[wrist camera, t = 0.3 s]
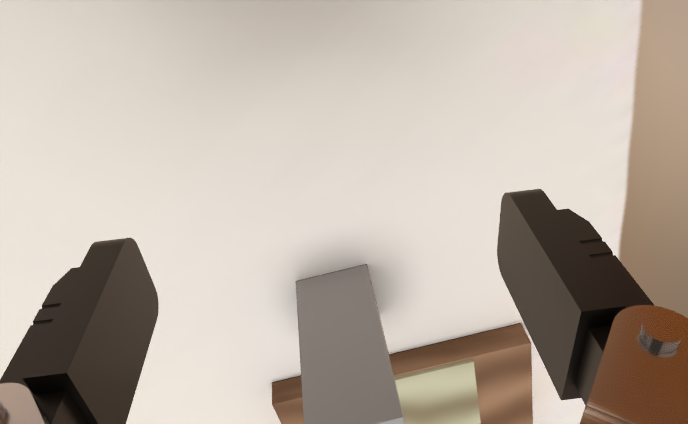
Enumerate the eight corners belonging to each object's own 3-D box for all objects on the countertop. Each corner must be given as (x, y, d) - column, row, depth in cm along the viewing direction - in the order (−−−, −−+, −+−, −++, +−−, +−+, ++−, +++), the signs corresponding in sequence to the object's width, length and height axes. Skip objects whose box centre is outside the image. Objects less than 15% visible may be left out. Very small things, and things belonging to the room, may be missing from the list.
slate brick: (295, 281, 36) (306, 467, 25) (366, 264, 36) (409, 443, 25) (313, 330, 39) (330, 517, 28) (379, 314, 39) (422, 495, 28)
